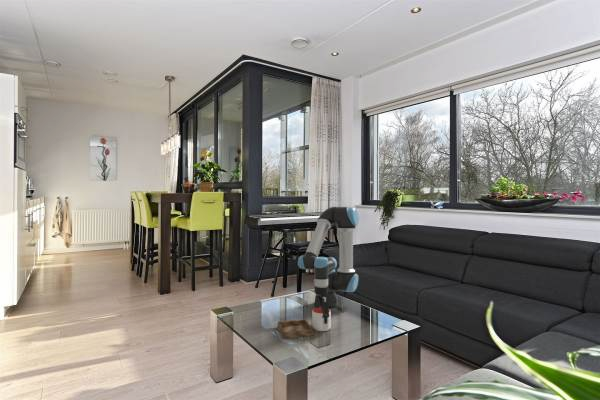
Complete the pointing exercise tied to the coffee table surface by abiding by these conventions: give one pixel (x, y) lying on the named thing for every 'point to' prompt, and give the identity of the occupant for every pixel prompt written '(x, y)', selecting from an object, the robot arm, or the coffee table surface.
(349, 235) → the robot arm
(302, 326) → the wooden tray
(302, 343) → the coffee table surface
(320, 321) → the cup
